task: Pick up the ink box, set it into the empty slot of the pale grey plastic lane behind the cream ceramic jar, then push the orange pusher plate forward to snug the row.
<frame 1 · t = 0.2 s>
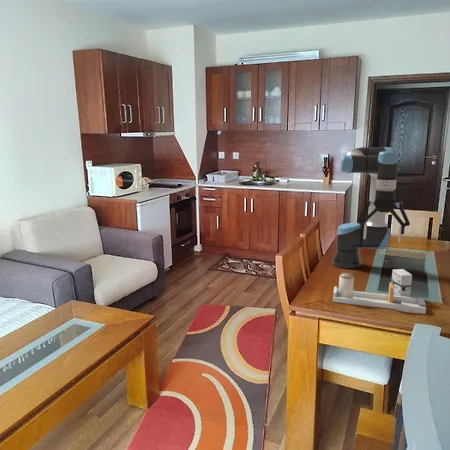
hand: (381, 240, 166), 27 cm above the table, fingers open, 13 cm apart
ink box: (399, 297, 176), on the table
pusher: (395, 294, 166), point 5 cm above the table, slide at 0.0 cm
lane: (376, 303, 169), on the table
jar: (345, 298, 173), point 1 cm above the table, touching lane
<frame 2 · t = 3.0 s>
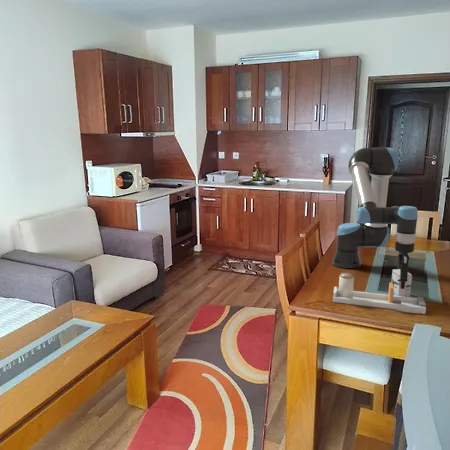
hand: (400, 290, 175), 3 cm above the table, fingers closed on ink box, 9 cm apart
ink box: (399, 297, 176), on the table, touching gripper
everything else where it was.
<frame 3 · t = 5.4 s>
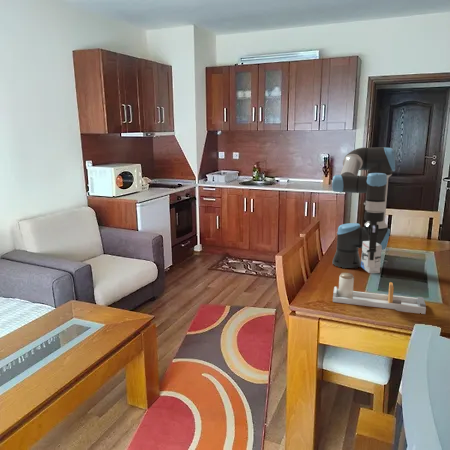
hand: (370, 263, 166), 18 cm above the table, fingers closed on ink box, 9 cm apart
ink box: (369, 270, 167), point 15 cm above the table, touching gripper
everything else where it was.
when the fingers open (5 cm above the table, at t = 8.2 s): ink box stays where it is, resting on lane.
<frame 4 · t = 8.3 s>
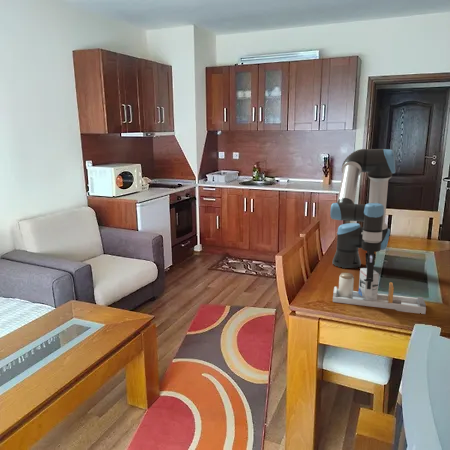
hand: (367, 291, 169), 5 cm above the table, fingers open, 9 cm apart
ink box: (367, 297, 170), point 2 cm above the table, touching lane
everything else where it was.
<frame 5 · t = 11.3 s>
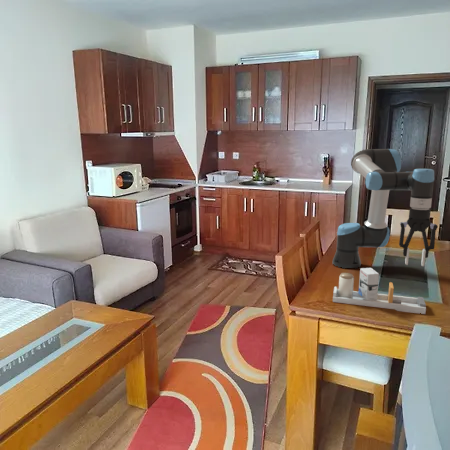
hand: (414, 264, 161), 19 cm above the table, fingers open, 5 cm apart
nothing on the table moved.
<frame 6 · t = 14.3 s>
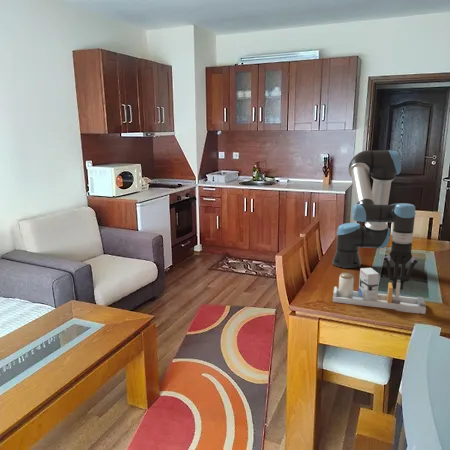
hand: (396, 296, 166), 4 cm above the table, fingers closed
pusher: (394, 294, 166), point 5 cm above the table, slide at 0.4 cm, touching gripper
everything else where it was.
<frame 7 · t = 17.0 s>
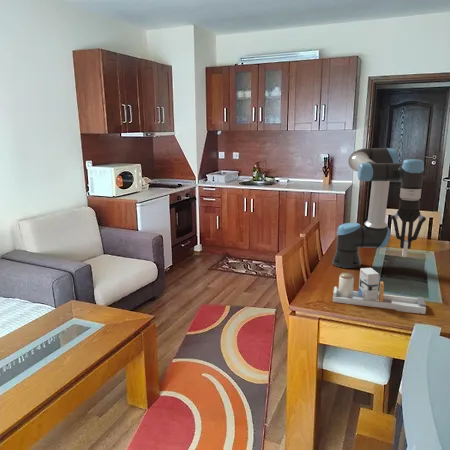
hand: (404, 256, 162), 22 cm above the table, fingers closed
pusher: (385, 293, 167), point 5 cm above the table, slide at 3.7 cm
everything else where it was.
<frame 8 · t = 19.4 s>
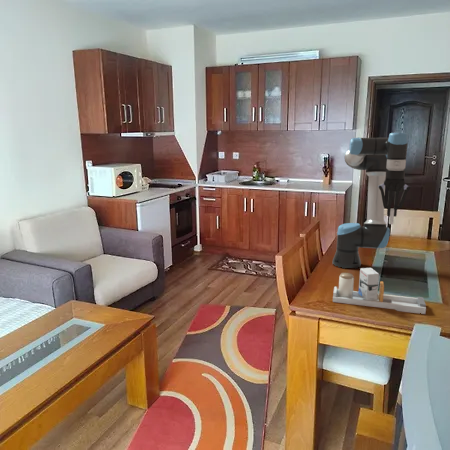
hand: (390, 223, 174), 32 cm above the table, fingers closed
nothing on the table moved.
at the end: ink box inside the target area (0.3 cm from its centre), point 2.4 cm above the table; ink box tilted 0°; pusher slide at 3.7 cm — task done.
